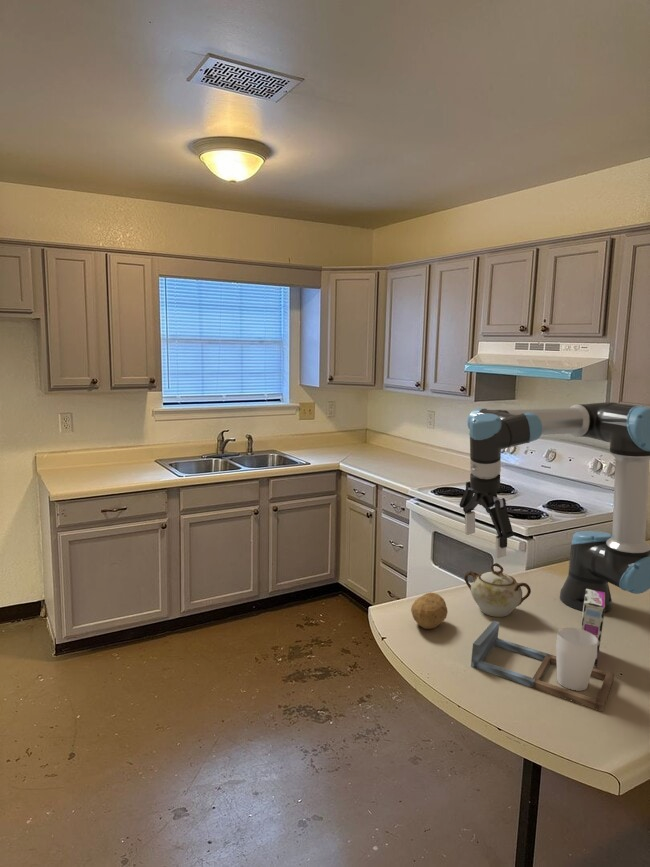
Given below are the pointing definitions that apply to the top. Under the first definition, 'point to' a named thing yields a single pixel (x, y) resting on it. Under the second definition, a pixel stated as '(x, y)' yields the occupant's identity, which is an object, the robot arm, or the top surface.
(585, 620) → the candy bar box
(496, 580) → the sugar bowl
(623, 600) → the top surface
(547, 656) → the bay frame
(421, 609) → the potato
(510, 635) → the top surface
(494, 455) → the robot arm
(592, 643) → the cup
